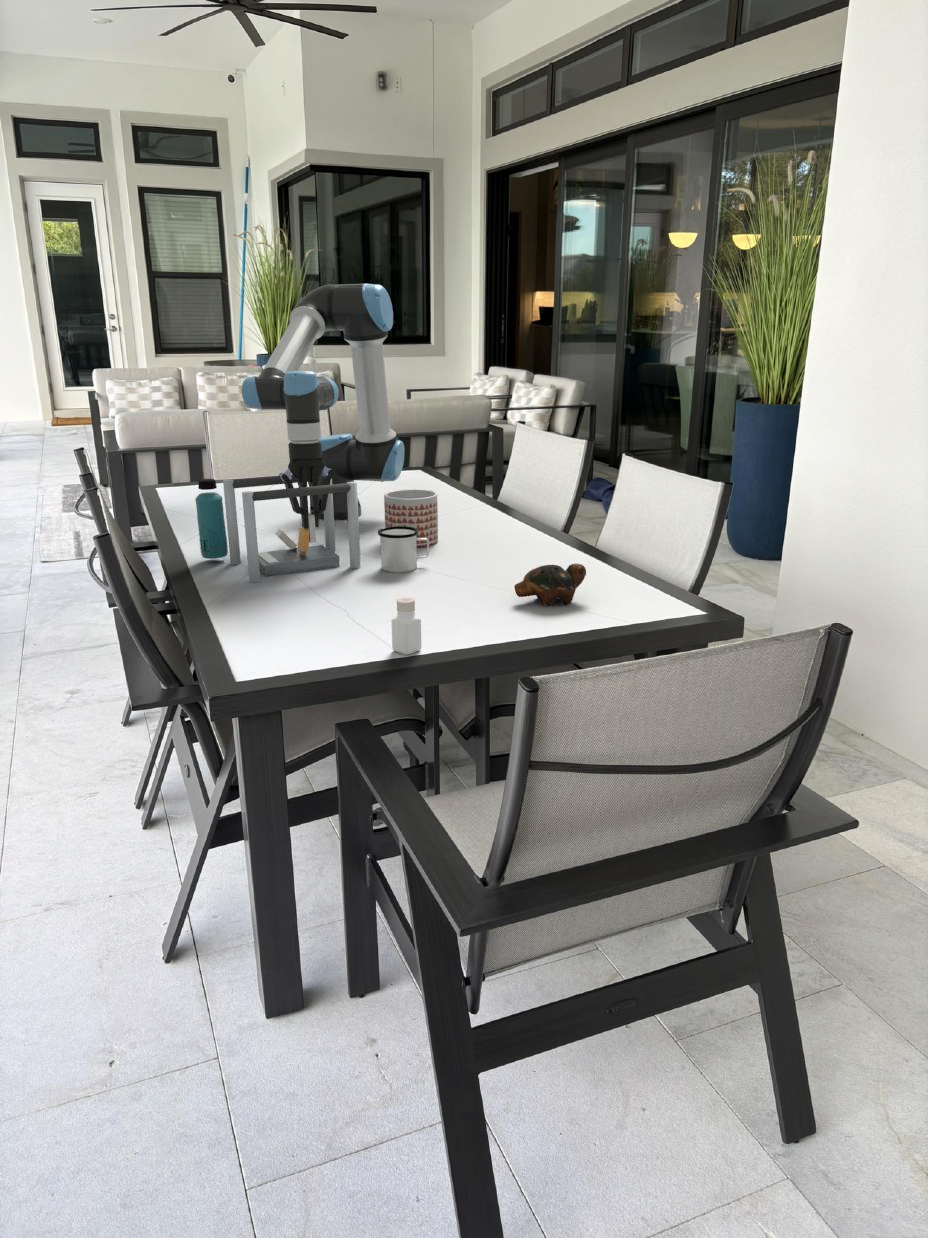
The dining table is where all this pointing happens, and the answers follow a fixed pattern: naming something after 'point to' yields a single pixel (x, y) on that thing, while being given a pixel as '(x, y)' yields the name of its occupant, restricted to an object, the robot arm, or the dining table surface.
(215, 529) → the beverage bottle
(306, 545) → the amber brick
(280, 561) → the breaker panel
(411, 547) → the mug
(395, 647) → the small white bottle
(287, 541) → the off-white eraser brick
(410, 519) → the planter
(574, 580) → the decorative turtle
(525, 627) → the dining table surface
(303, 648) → the dining table surface
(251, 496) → the cord rack
